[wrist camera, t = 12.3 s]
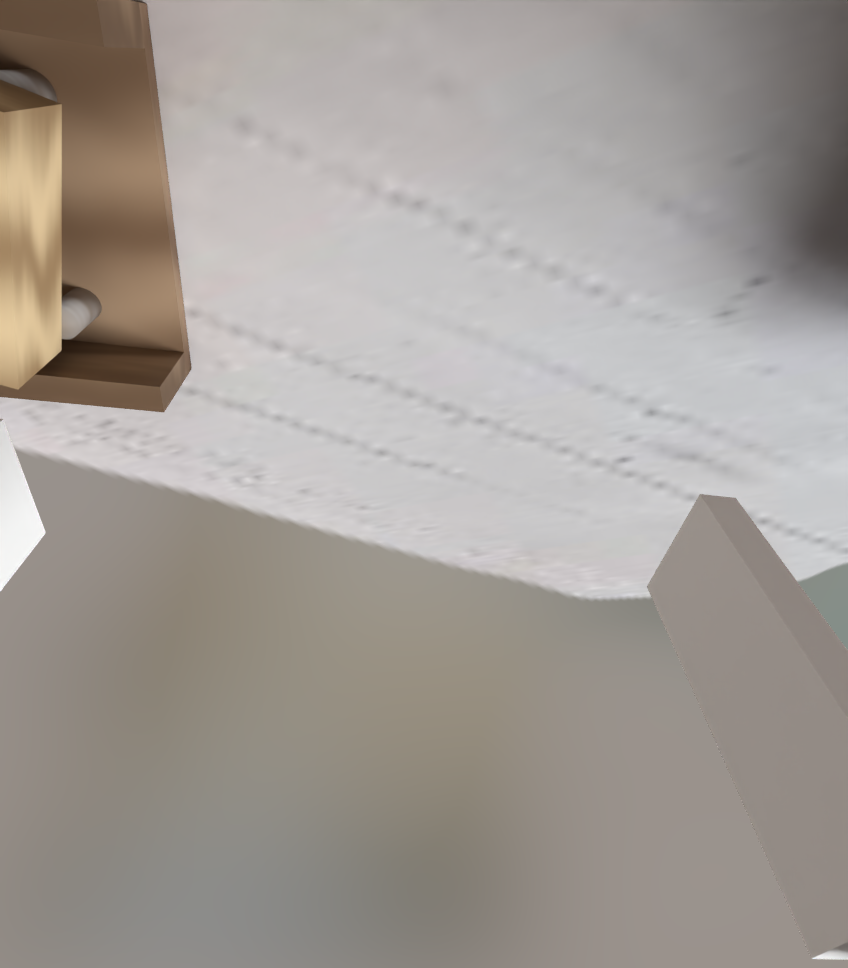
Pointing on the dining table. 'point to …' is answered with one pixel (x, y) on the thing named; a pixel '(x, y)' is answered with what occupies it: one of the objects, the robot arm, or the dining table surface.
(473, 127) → the dining table surface
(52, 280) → the light wooden block
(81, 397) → the peg frame
